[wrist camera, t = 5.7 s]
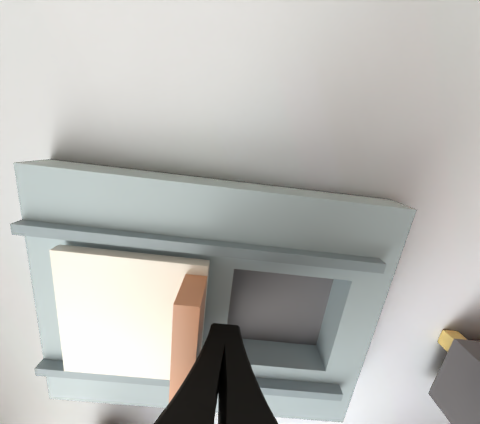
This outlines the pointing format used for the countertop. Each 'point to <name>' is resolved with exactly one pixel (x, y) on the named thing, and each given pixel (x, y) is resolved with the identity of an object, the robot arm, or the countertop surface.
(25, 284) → the countertop surface
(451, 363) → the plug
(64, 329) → the shutter
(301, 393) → the socket board
